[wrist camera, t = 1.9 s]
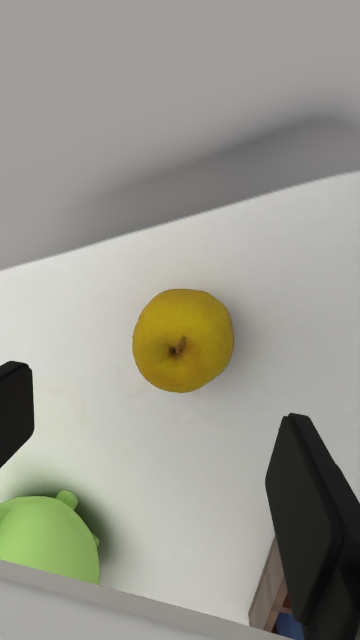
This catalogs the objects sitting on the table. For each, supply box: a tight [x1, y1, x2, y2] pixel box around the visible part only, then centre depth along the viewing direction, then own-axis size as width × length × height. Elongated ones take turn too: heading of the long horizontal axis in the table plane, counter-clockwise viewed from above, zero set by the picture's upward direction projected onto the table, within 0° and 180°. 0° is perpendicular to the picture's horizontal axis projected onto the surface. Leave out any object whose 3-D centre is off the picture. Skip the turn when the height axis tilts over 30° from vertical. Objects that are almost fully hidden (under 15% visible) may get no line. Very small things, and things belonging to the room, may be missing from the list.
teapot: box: [0, 491, 100, 585], centre depth 24 cm, size 20×13×13 cm
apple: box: [132, 289, 234, 393], centre depth 17 cm, size 6×6×8 cm
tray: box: [249, 535, 293, 635], centre depth 25 cm, size 17×9×3 cm, turn 173°
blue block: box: [276, 612, 304, 640], centre depth 25 cm, size 4×4×4 cm
